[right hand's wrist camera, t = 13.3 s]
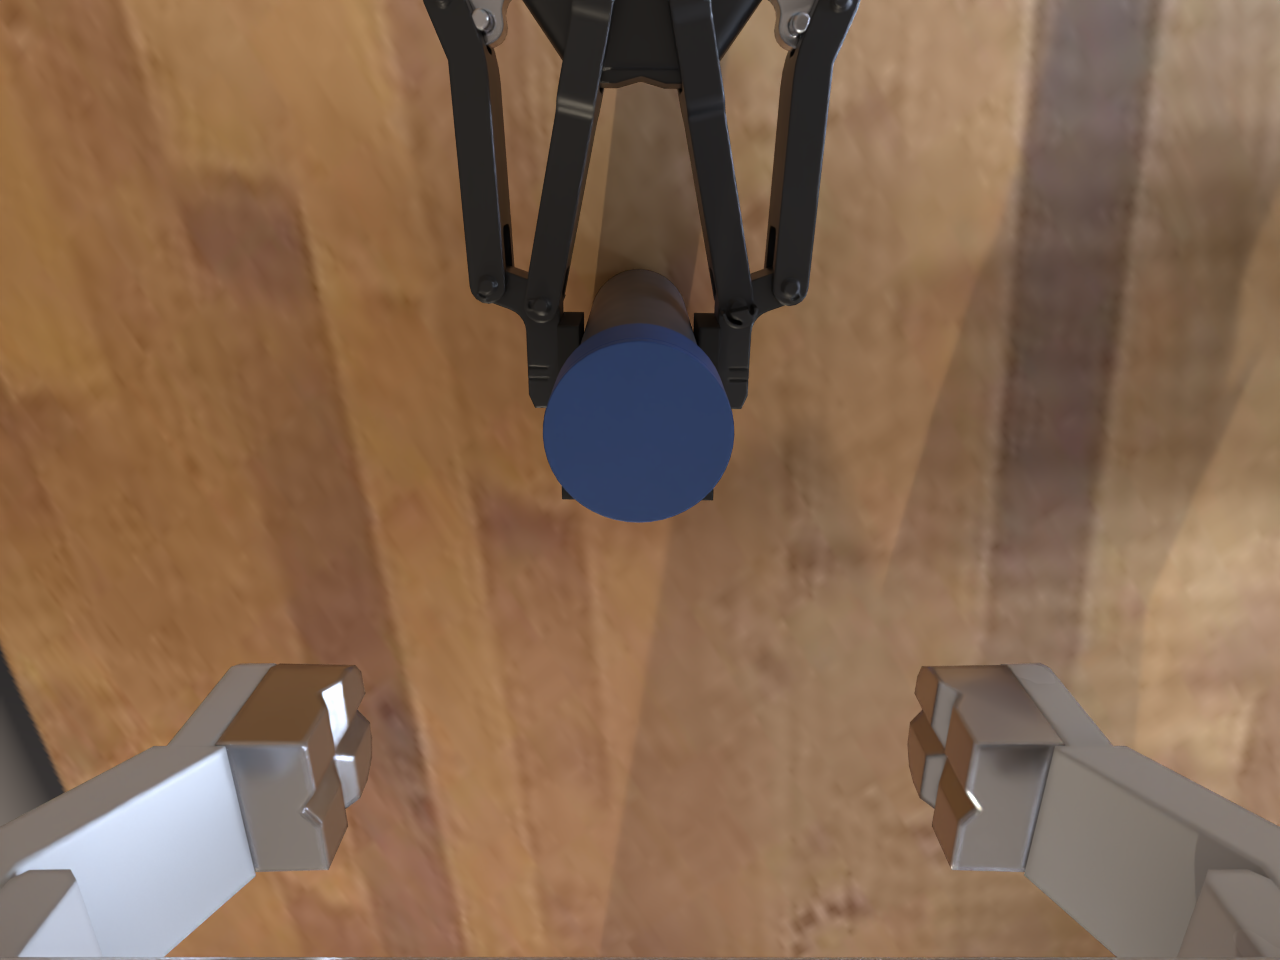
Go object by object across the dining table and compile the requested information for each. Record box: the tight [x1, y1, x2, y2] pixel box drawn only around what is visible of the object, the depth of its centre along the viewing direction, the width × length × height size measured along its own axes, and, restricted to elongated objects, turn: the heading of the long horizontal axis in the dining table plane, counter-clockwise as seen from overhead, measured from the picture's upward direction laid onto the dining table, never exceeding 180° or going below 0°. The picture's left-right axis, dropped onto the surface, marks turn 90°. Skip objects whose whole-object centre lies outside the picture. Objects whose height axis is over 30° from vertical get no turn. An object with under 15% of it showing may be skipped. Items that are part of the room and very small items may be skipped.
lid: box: [543, 323, 734, 522], centre depth 22 cm, size 5×5×2 cm
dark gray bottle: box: [581, 269, 697, 345], centre depth 28 cm, size 4×4×16 cm
